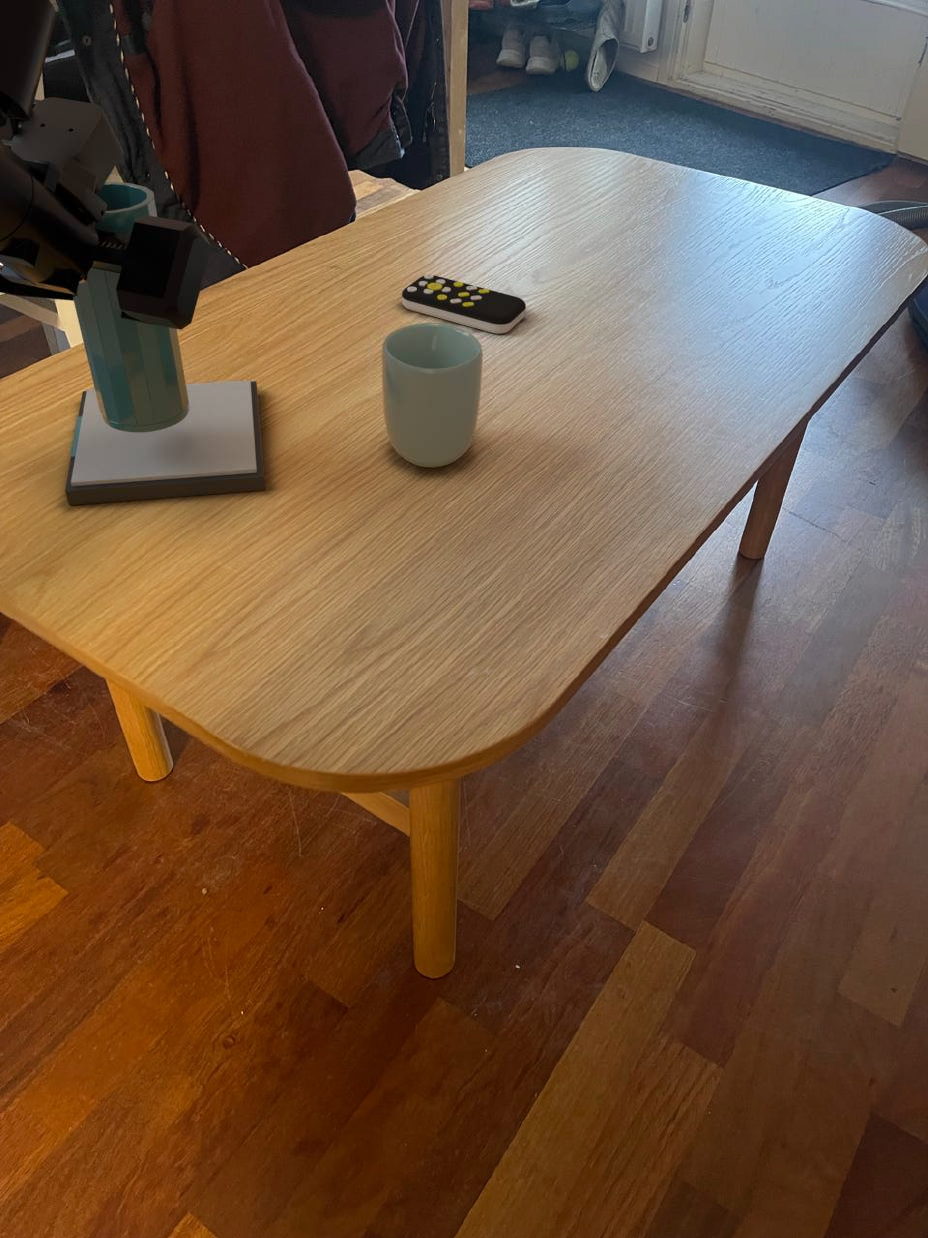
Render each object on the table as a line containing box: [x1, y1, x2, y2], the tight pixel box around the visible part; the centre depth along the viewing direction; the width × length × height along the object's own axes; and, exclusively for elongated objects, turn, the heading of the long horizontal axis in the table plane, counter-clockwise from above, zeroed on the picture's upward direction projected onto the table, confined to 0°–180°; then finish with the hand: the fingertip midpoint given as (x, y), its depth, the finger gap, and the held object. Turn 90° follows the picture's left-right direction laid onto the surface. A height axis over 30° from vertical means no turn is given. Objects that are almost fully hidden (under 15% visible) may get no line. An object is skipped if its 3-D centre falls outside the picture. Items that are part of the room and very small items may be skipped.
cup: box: [381, 322, 484, 468], centre depth 77 cm, size 8×8×10 cm
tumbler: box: [72, 181, 190, 433], centre depth 68 cm, size 7×7×16 cm
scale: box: [64, 379, 266, 506], centre depth 79 cm, size 15×15×2 cm
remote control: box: [401, 273, 527, 334], centre depth 100 cm, size 6×13×2 cm, turn 63°
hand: (134, 303), depth 69 cm, fingers closed on tumbler, 7 cm apart
